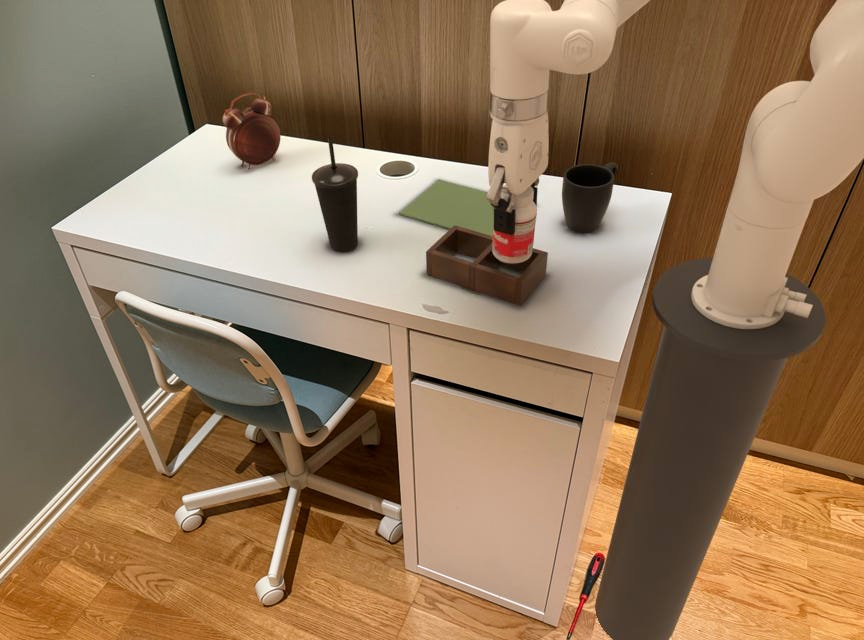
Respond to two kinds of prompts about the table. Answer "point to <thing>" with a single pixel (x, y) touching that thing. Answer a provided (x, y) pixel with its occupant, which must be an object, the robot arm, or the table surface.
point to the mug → (587, 195)
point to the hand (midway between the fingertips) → (515, 219)
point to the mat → (453, 207)
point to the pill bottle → (517, 230)
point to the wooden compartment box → (483, 266)
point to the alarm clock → (252, 131)
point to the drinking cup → (338, 202)
